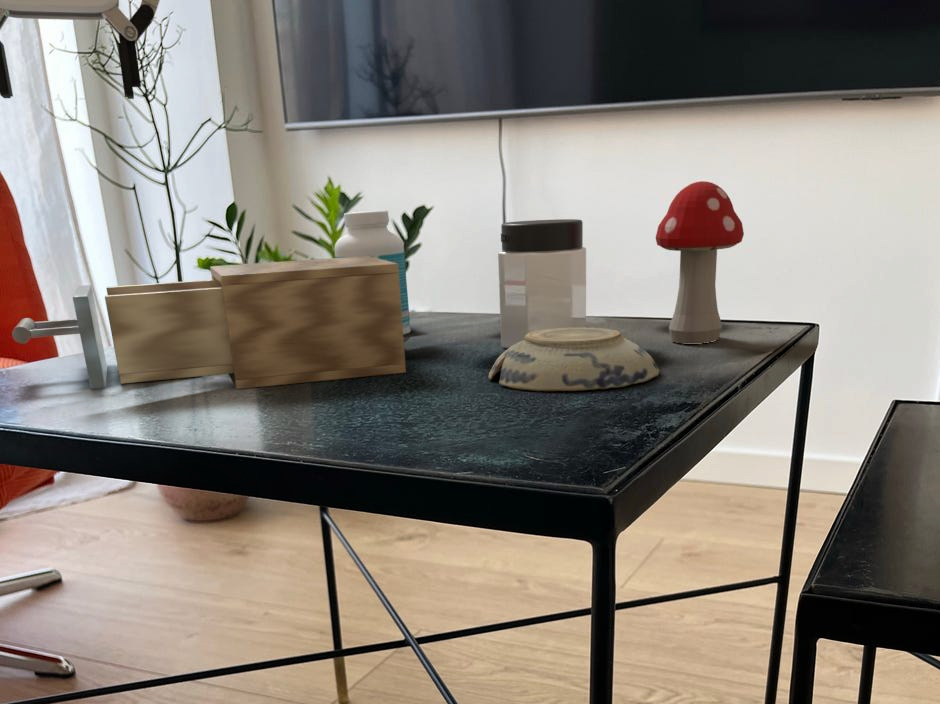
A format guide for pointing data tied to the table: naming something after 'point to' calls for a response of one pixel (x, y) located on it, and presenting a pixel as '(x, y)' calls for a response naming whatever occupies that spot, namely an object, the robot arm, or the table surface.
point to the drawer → (148, 331)
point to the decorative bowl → (573, 361)
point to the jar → (541, 277)
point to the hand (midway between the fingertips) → (69, 97)
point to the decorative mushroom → (698, 256)
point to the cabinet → (312, 320)
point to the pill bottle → (375, 248)
